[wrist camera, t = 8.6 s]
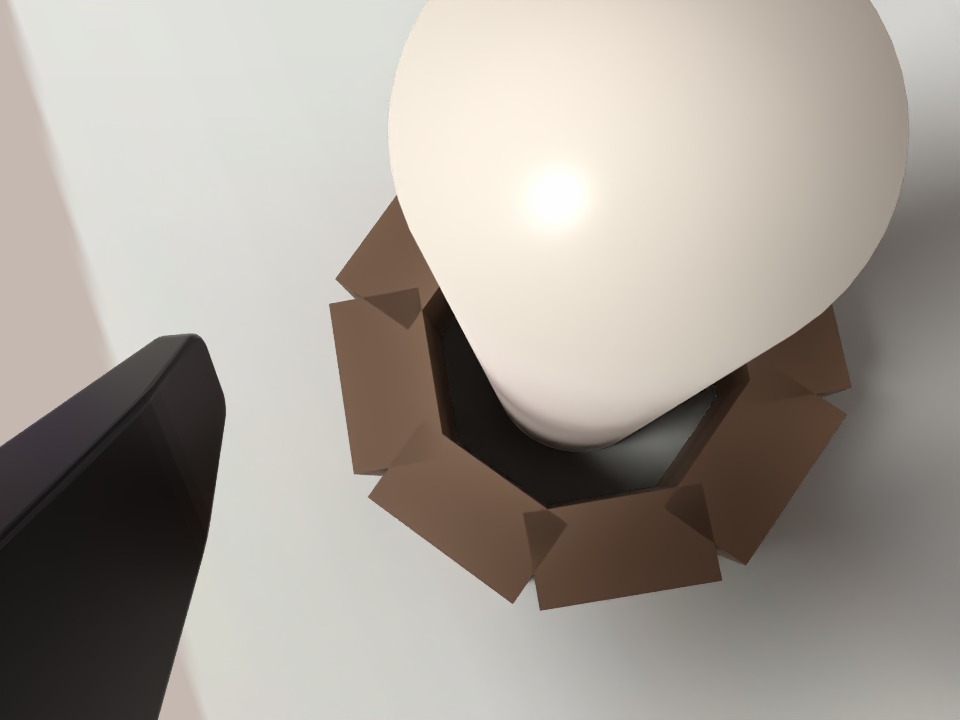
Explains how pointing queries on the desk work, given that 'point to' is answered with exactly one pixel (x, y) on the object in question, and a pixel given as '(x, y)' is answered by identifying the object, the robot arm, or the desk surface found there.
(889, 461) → the desk surface
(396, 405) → the brown segmented ring
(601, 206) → the cream tapered cylinder
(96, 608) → the robot arm
